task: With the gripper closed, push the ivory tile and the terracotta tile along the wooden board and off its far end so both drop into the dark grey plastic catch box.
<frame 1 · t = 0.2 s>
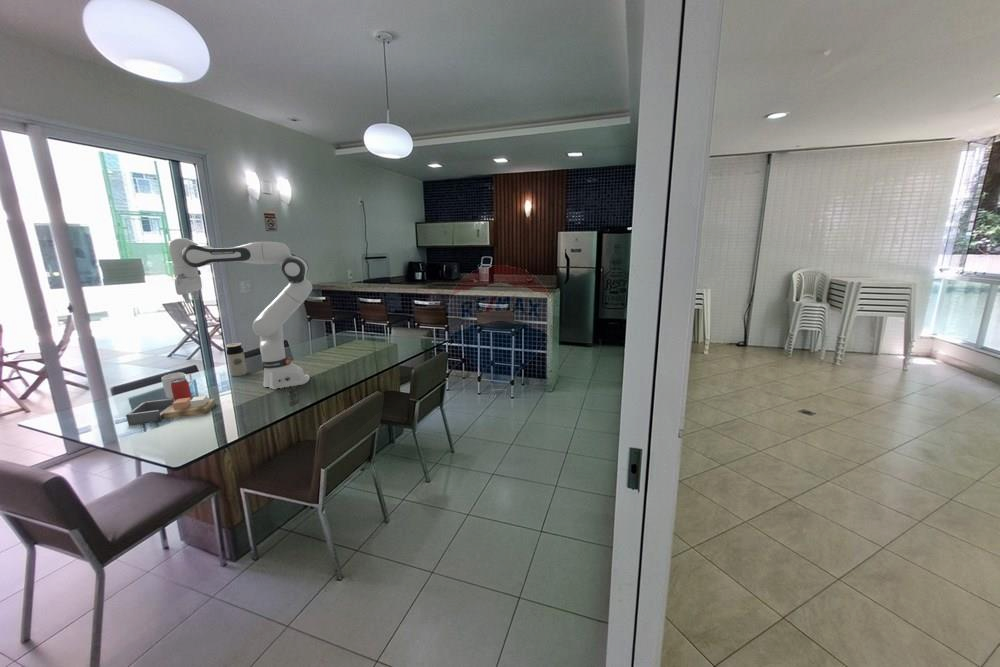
hand: (192, 301, 187), 47 cm above the table, fingers open, 8 cm apart
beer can: (184, 403, 185), on the table
tile ivory: (199, 404, 176), point 3 cm above the table, touching wooden board
catch box: (153, 416, 171), on the table
mug: (181, 395, 195), on the table
wooden board: (191, 411, 176), on the table
tile terracotta: (183, 406, 174), point 3 cm above the table, touching wooden board
travel mug: (239, 374, 224), on the table
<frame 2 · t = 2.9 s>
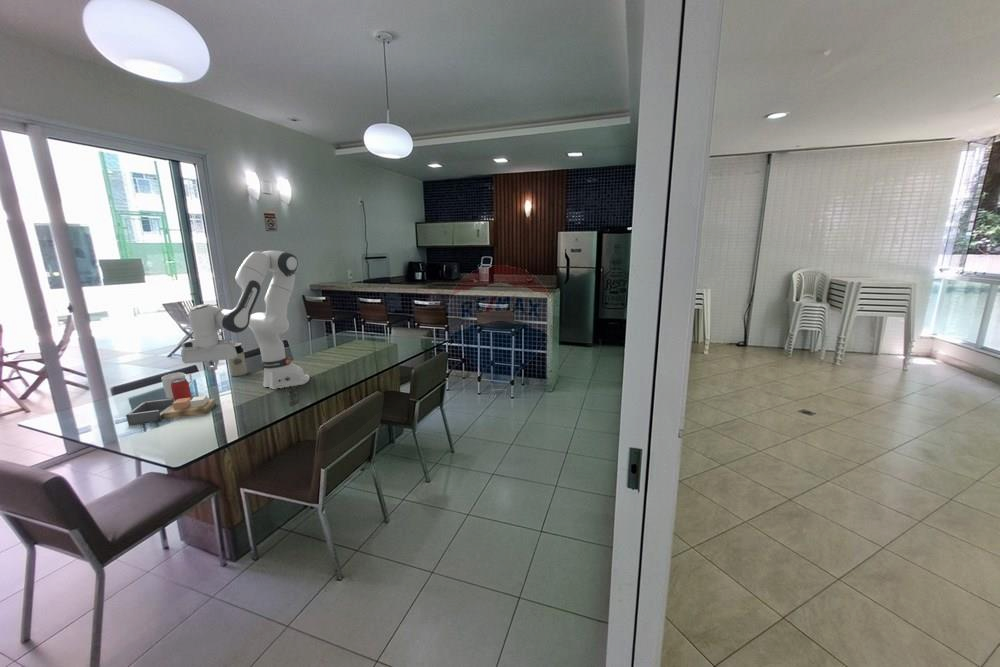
hand: (213, 369, 175), 19 cm above the table, fingers closed
nothing on the table moved.
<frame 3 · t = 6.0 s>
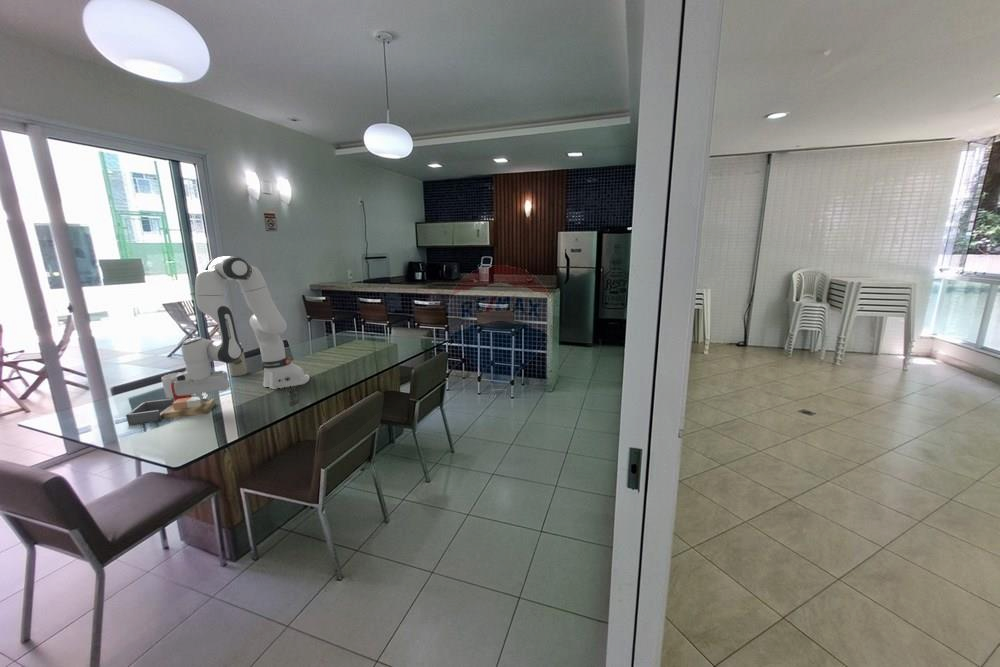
hand: (205, 401, 177), 4 cm above the table, fingers closed
tile ivory: (196, 404, 176), point 3 cm above the table, touching gripper
everything else where it was.
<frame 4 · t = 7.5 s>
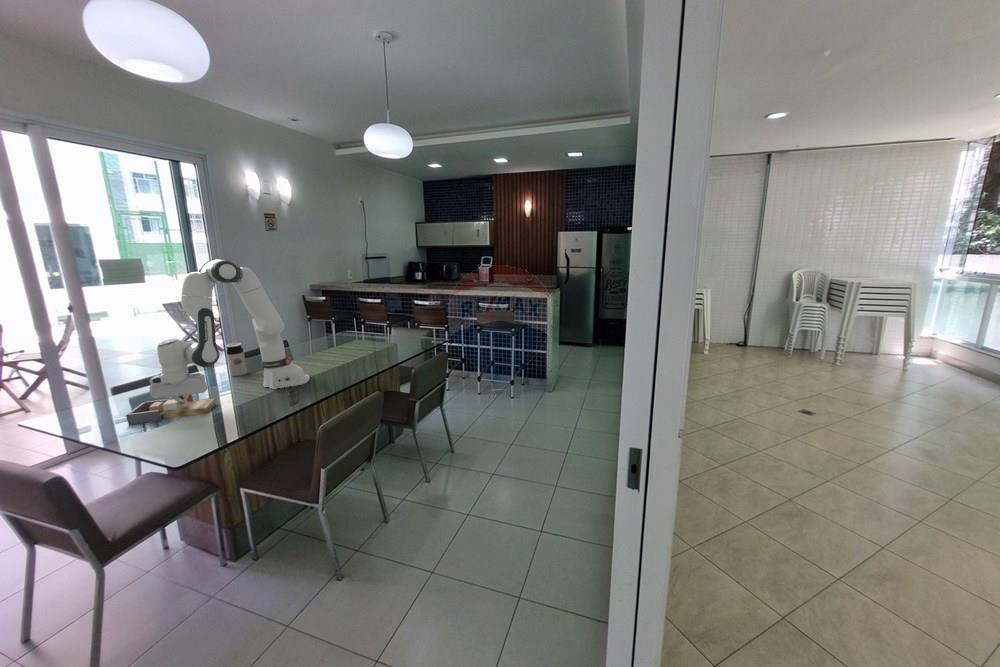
hand: (183, 404, 174), 4 cm above the table, fingers closed
tile ivory: (173, 407, 173), point 3 cm above the table, touching wooden board, gripper
tile terracotta: (161, 409, 172), point 3 cm above the table, tilted 87°, touching catch box
everything else where it was.
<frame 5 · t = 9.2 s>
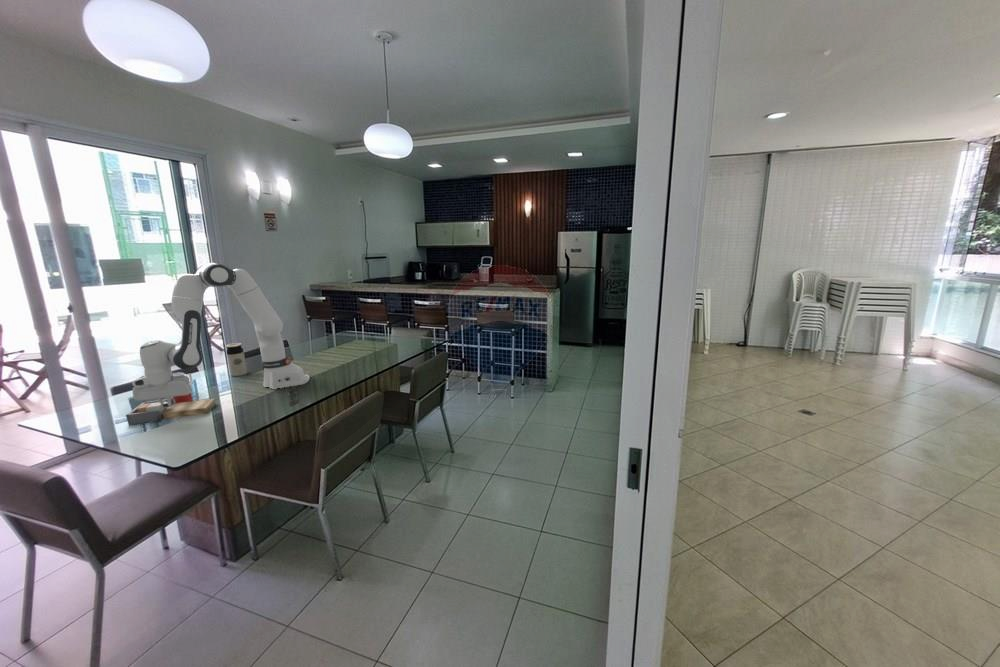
hand: (166, 406, 172), 4 cm above the table, fingers closed
tile ivory: (157, 410, 171), point 3 cm above the table, touching gripper, tile terracotta
tile terracotta: (150, 410, 170), point 3 cm above the table, tilted 92°, touching catch box, tile ivory
everything else where it was.
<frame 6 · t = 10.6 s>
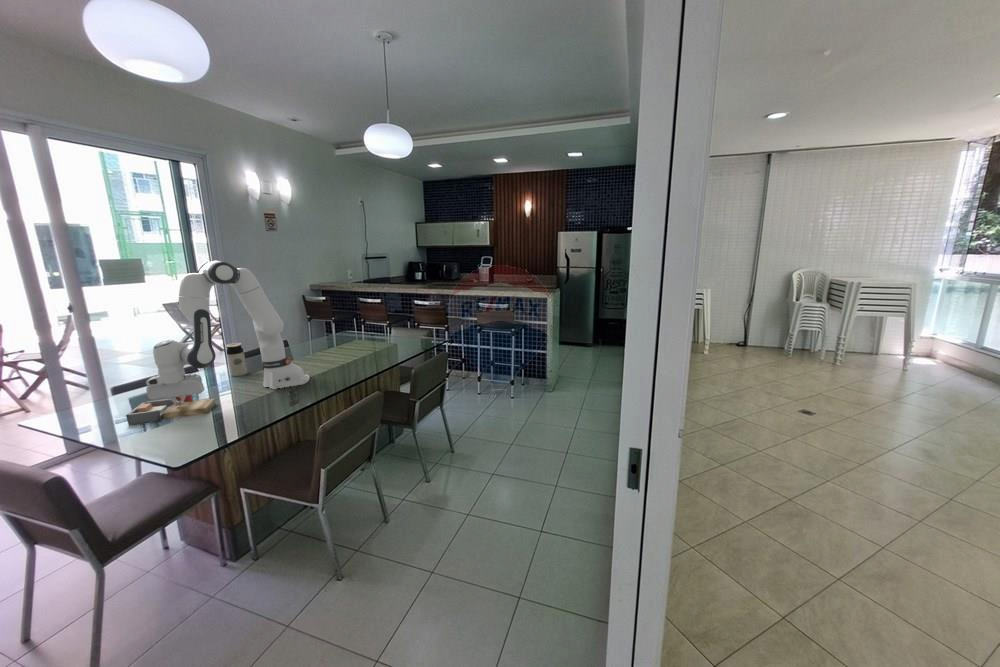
hand: (180, 405, 174), 4 cm above the table, fingers closed
tile ivory: (158, 414, 172), point 1 cm above the table, touching catch box
tile terracotta: (150, 410, 171), point 3 cm above the table, tilted 90°, touching catch box
everything else where it was.
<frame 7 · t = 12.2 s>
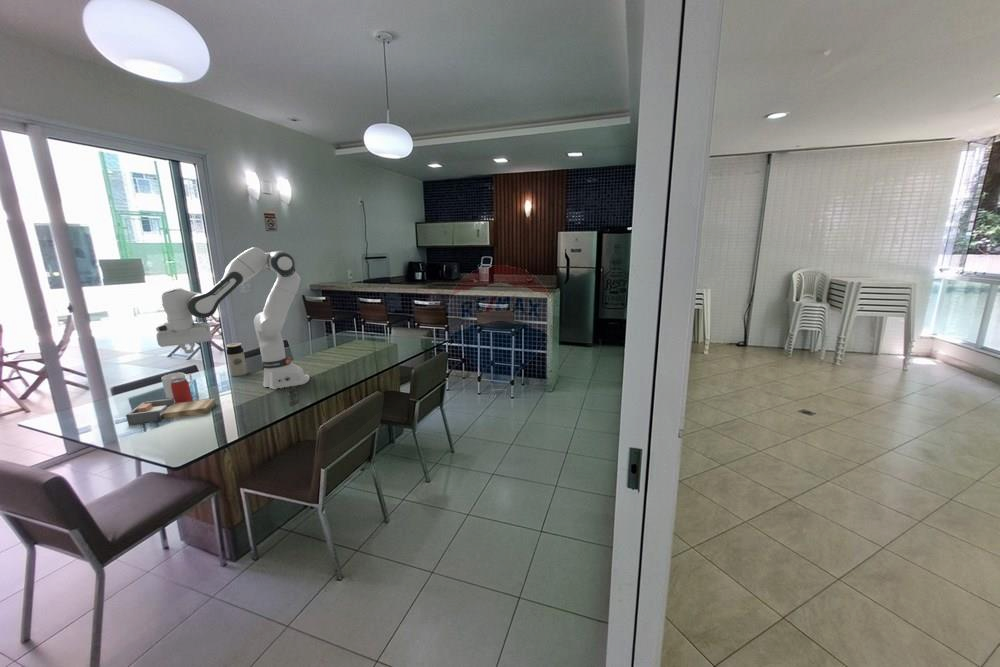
hand: (189, 352, 179), 25 cm above the table, fingers closed
nothing on the table moved.
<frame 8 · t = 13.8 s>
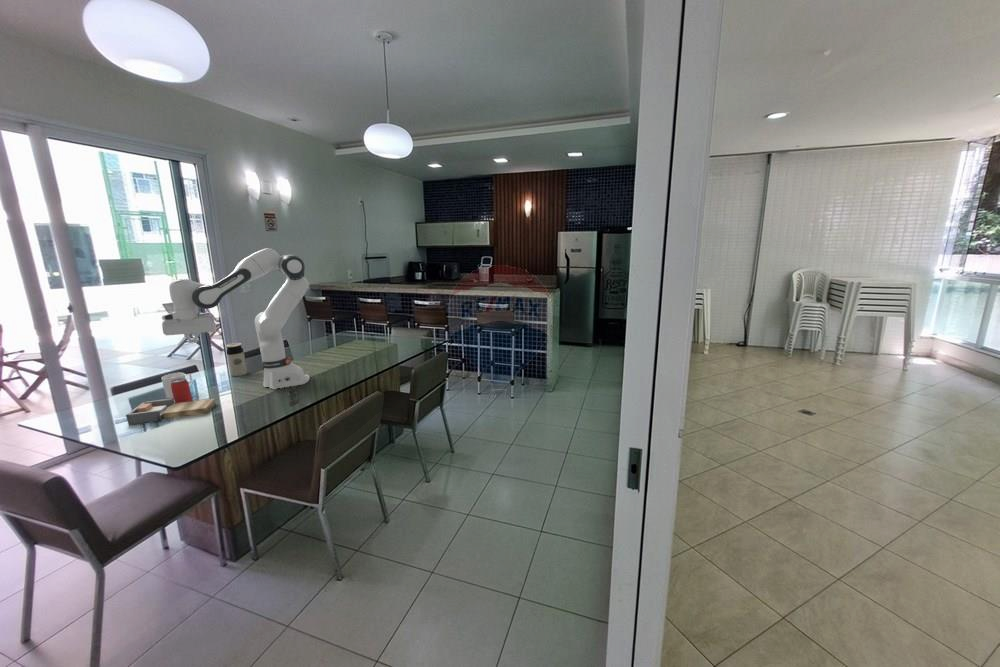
hand: (193, 342, 182), 29 cm above the table, fingers closed
nothing on the table moved.
at the end: tile ivory inside the target area (2.1 cm from its centre), point 0.6 cm above the table; tile terracotta inside the target area (0.6 cm from its centre), point 3.1 cm above the table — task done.
